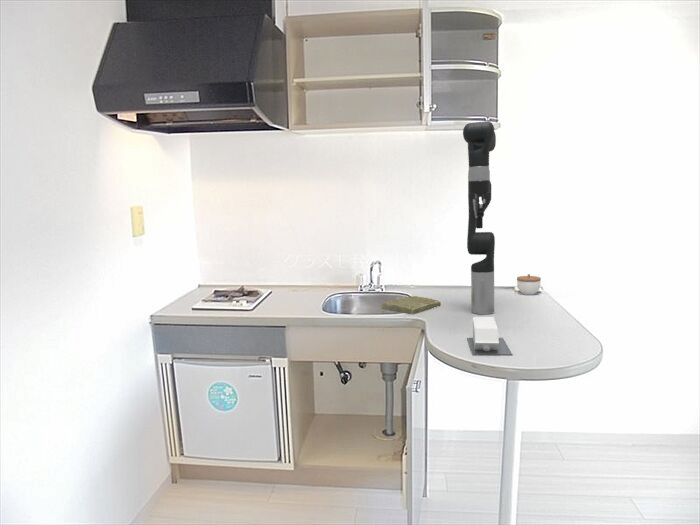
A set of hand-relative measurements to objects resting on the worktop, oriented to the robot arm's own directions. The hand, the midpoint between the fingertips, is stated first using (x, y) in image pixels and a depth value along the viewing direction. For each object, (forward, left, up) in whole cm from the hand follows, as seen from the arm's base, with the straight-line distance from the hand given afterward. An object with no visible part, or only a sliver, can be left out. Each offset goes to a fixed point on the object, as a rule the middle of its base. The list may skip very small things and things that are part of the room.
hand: (479, 228), depth 185 cm
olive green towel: (-34, -26, -38) cm, 57 cm away
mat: (+23, 0, -37) cm, 44 cm away
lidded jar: (-60, +30, -37) cm, 77 cm away
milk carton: (+13, 0, -33) cm, 36 cm away
